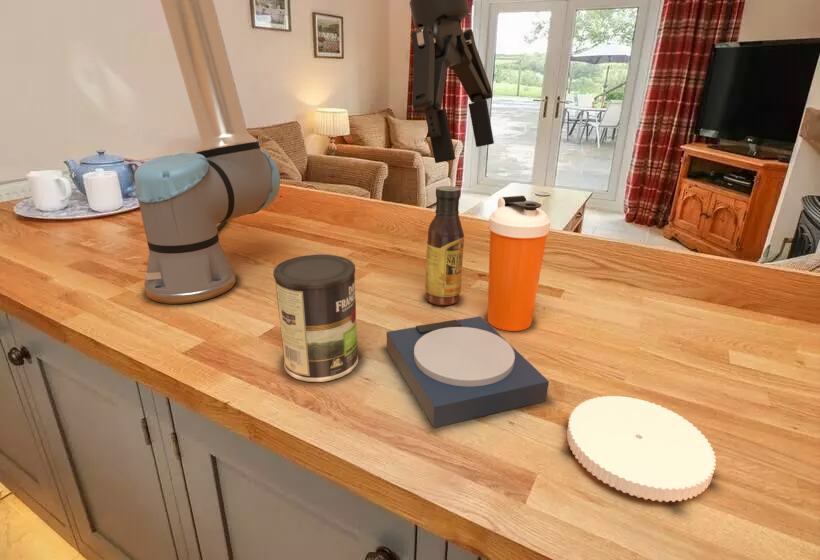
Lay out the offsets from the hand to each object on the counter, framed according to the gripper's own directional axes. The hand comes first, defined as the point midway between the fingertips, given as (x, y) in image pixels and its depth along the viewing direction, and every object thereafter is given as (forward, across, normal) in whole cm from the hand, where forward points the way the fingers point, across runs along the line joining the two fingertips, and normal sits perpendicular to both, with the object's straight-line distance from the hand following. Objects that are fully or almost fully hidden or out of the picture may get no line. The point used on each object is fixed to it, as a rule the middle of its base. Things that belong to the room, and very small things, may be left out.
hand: (466, 152), depth 71 cm
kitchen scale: (+27, -16, -1) cm, 31 cm away
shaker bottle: (+28, +2, -1) cm, 28 cm away
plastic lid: (+32, -20, -23) cm, 45 cm away
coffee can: (+22, -24, +16) cm, 36 cm away
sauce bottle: (+25, +3, +12) cm, 27 cm away
